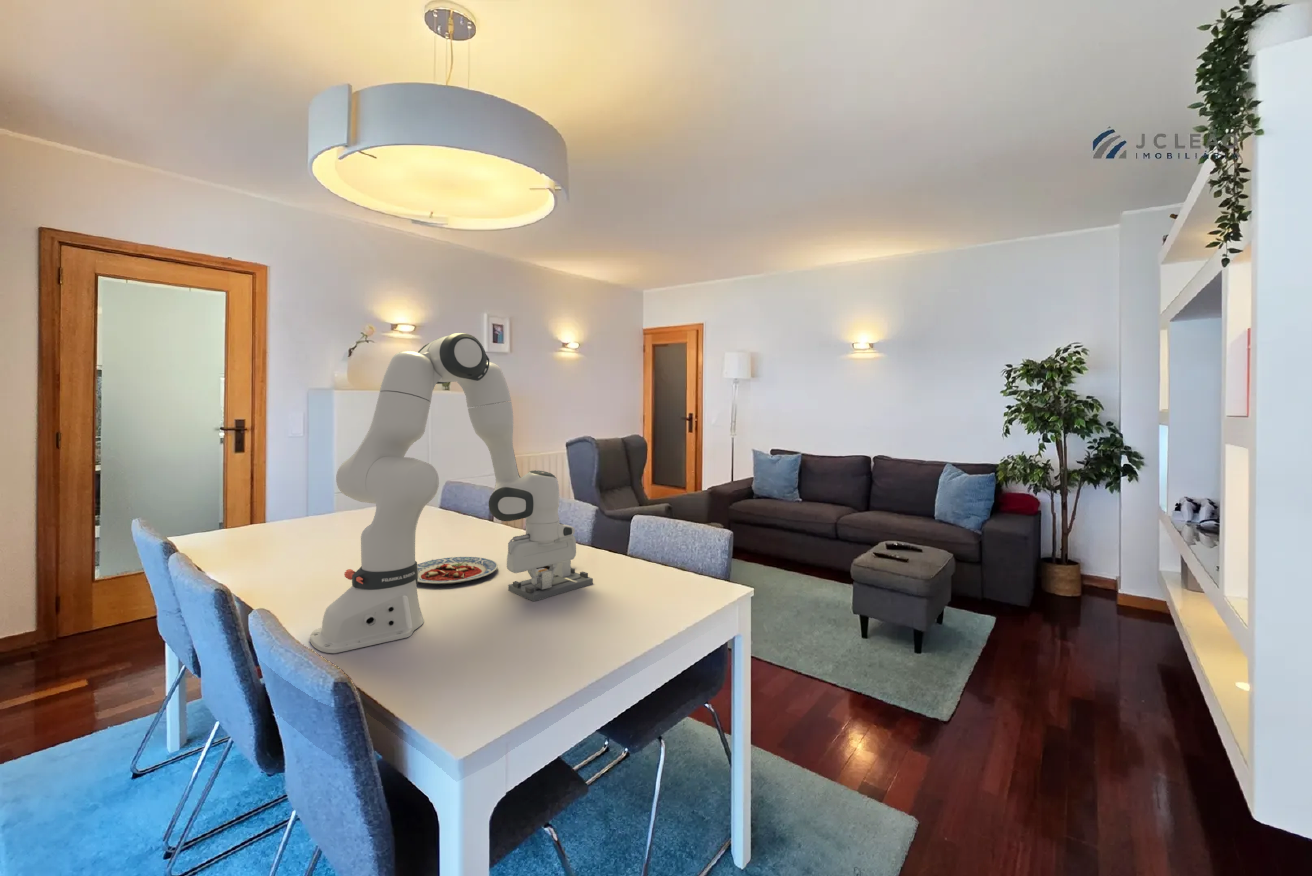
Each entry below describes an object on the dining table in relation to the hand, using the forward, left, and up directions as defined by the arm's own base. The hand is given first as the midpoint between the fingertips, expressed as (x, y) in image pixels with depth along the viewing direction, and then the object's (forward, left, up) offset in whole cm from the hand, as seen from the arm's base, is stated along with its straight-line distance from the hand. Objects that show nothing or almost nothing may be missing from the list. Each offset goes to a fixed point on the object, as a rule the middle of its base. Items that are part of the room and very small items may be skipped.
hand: (542, 582), depth 147 cm
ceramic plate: (-9, +33, -4) cm, 34 cm away
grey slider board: (+5, +3, -3) cm, 7 cm away
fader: (0, 0, -1) cm, 1 cm away
